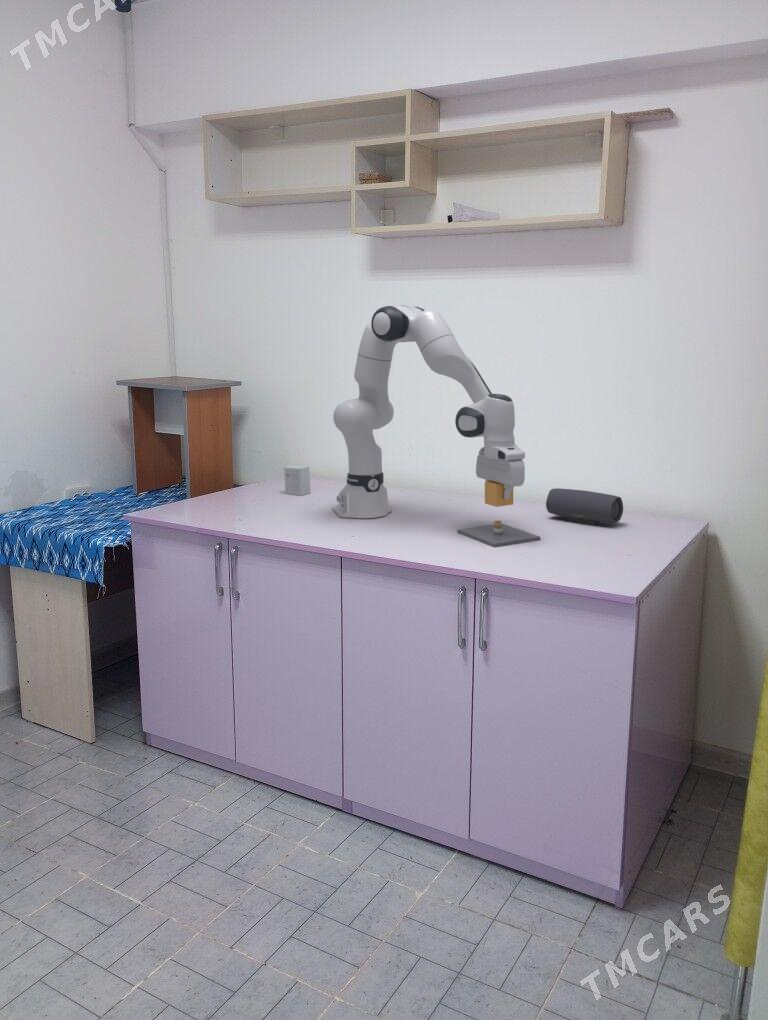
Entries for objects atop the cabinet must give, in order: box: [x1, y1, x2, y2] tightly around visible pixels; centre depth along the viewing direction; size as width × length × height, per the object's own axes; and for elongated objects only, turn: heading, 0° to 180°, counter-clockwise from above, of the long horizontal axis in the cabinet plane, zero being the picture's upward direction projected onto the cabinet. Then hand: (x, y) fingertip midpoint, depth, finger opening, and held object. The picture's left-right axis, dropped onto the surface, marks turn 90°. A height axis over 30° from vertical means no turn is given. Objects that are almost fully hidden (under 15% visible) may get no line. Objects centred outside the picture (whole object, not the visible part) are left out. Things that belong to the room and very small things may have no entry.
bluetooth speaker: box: [545, 488, 624, 525], centre depth 263 cm, size 23×9×10 cm, turn 48°
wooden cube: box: [484, 481, 514, 508], centre depth 245 cm, size 6×6×6 cm
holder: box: [456, 520, 541, 548], centre depth 247 cm, size 20×16×4 cm
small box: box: [283, 464, 311, 496], centre depth 315 cm, size 8×6×10 cm
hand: (499, 497), depth 245 cm, fingers closed on wooden cube, 6 cm apart
